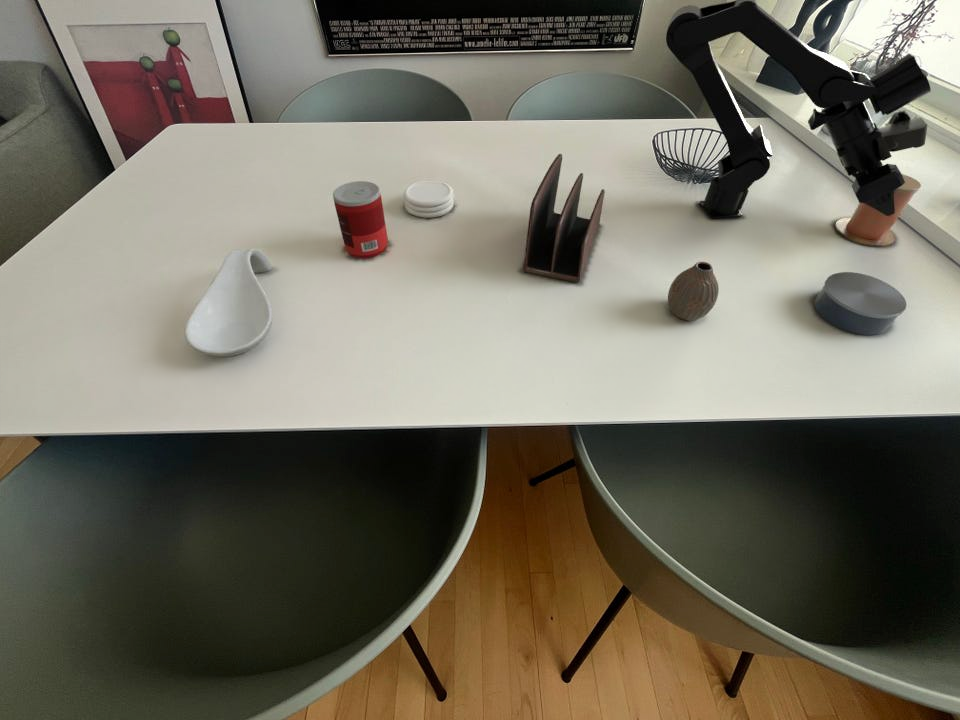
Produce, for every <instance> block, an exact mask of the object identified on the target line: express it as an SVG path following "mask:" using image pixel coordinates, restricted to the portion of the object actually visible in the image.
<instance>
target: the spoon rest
mask: <svg viewBox="0 0 960 720" xmlns="http://www.w3.org/2000/svg"><path fill="white" fill-rule="evenodd" d="M272 269H273V266H272V263H271V262H270V260H269V259H268V257H267V256H266V255H265V254H264V253H263V252H262V251H261V250H259V249H257V248H250V249H245V250H244V249H233V250H231V251H230V252H229V253H228V254H227V255H226V256H225V259H224V260H223V262H222V264H221V266H220V268H219V270H218V272H217V274H215V277H214V278H213V280H212V282H211V283H210V284H209V286H208V288H206V291H205V292H204V293H203V295H202V296H201V298H200V299H199V300H198V302H197V304H196V305H195V307H194V308H193V310H192V311H191V313H190V315H189V317H188V318H187V321H186V324H185V327H184V337H185V339H186V342H187V344H188V345H189V347H191V348H192V349H193V350H195V351H197V352H198V353H201V354H204V355H207V356H213V357H234V356H238V355H241V354H244V353H246V352H250V351H251V350H253V349H255V348H256V347H257V346H258V345H260V344H261V343H263V341H264V340H265V338H266V337H267V335H268V333H269V332H270V329H271V326H272V324H273V309H272V305H271V303H270V299H268V296H267V295H266V292H265V291H264V289H263V287H262V285H261V284H260V282H259V280H258V278H257V276H256V274H257V273H265V272H270V271H272Z"/></svg>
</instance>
